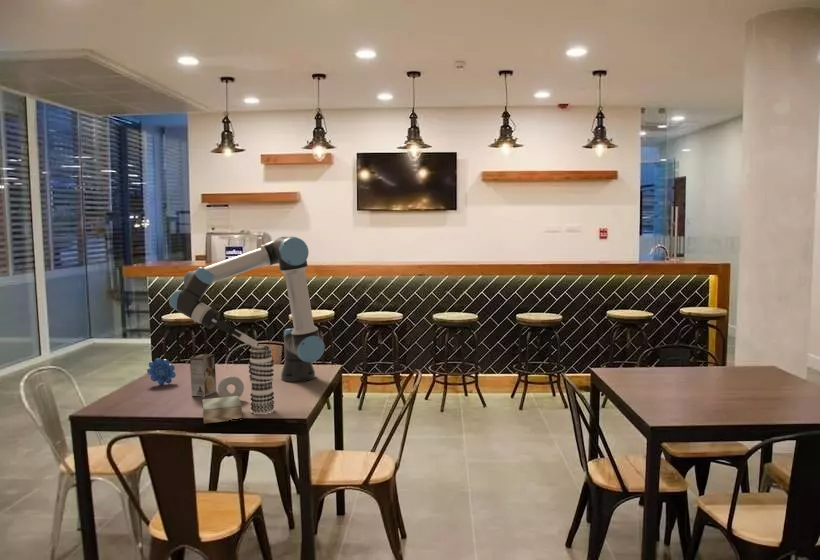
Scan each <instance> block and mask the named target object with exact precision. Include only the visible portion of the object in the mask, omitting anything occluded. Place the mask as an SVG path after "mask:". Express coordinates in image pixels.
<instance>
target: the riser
mask: <svg viewBox="0 0 820 560" xmlns="http://www.w3.org/2000/svg"><path fill="white" fill-rule="evenodd" d="M202 414H203V424H211V423H212V424H213V423H221V422H229V420H231V421H233V420H232V419H238V418H242V419H243V406H242V402H241V399H240V397H239V396H232V397H221V396H220V397H213V398H204V399H202Z"/></svg>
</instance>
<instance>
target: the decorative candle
mask: <svg viewBox="0 0 820 560" xmlns="http://www.w3.org/2000/svg"><path fill="white" fill-rule="evenodd" d="M272 350H273V349H272V348H271V347H270V346H269V345H268V344H266V343H265V344H264V343H263V344H262V343H260V344H259V343H258V344H257V345H254V346H251V348H250V349H249V352H250V353H249V354H250V357H249V361H248V362H247V363H248V364H249V365H248V369H249V370H248V373H249V376H248V377H249V379H250V380H249V382H250V383H251V390H250V394H249V395H250V401H251V402H250V410H251V411H250V413H251V412H252V413H255V414H265V413H269V412H272V411H273V410H274V411H275V409H274V408H275V405H274V404H275V400H274V399H275V396H274V395H275V394H274V393H275V392H274V389H273V381H274V378H273V376H274V373H273V372H274V369H273V368H272V367H274V366H275V364H274V362H275V360H274V359H273V358H272ZM252 413H251V414H252ZM272 413H273V412H272ZM255 414H254V415H255ZM265 415H266V414H265Z"/></svg>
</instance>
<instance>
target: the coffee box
mask: <svg viewBox="0 0 820 560" xmlns="http://www.w3.org/2000/svg"><path fill="white" fill-rule="evenodd" d="M215 355H216V354H215V353H211V354H210V353H208V354H207V353H201V354H198V355H195V356H193V357H190V358H189V366H190V367H189V368H190V369H189V370H190V387H191V388H190V389H191V397H192V396H202V397H201V398H206V397H205V396H207V397H209V396H211V395H212V394H214V393H216V392H217V377H216V356H215ZM210 394H211V395H210ZM208 395H209V396H208Z"/></svg>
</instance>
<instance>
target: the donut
mask: <svg viewBox="0 0 820 560" xmlns="http://www.w3.org/2000/svg"><path fill="white" fill-rule="evenodd" d="M230 385H232V386H234V387H235V389H234V390H233V391H229V390H228V386H230ZM244 389H245V386H244V382H243V380H242V379H241V378H239V377H237V376H236V375H228V376H225V377H223V378H222V379H221V380H220V381H219V383H218V385H217V392H218V394H219V396H220V398H221V397H232V396H239V398H240V397H241V396H243V393H244Z"/></svg>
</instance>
